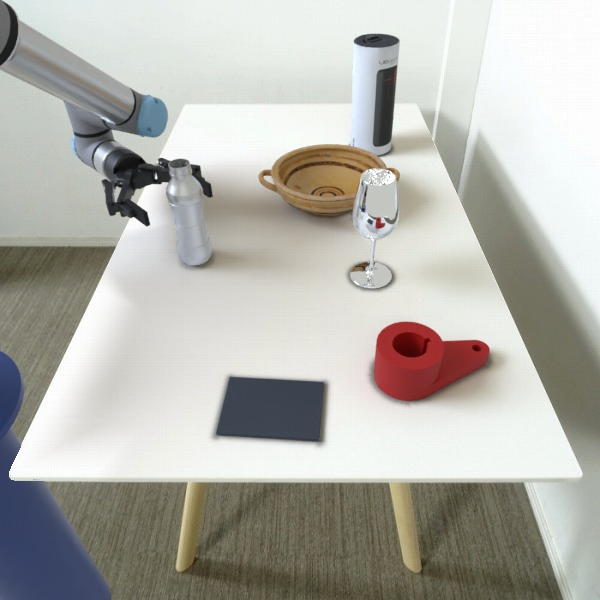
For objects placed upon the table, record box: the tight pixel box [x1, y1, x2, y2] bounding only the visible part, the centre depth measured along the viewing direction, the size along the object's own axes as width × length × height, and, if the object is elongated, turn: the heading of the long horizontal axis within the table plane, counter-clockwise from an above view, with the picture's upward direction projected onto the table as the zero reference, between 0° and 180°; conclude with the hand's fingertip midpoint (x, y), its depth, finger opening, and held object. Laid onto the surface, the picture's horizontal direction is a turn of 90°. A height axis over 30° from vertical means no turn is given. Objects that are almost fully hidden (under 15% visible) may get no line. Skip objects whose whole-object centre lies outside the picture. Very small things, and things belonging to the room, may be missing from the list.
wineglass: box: [349, 168, 400, 290], centre depth 93 cm, size 8×8×20 cm
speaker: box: [349, 33, 401, 157], centre depth 130 cm, size 11×10×26 cm
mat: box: [215, 376, 325, 442], centre depth 78 cm, size 14×10×1 cm
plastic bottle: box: [165, 158, 213, 266], centre depth 98 cm, size 6×7×20 cm
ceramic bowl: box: [258, 143, 401, 217], centre depth 117 cm, size 30×24×8 cm
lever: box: [373, 321, 491, 402], centre depth 80 cm, size 18×9×7 cm, turn 106°
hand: (179, 204), depth 99 cm, fingers open, 13 cm apart
